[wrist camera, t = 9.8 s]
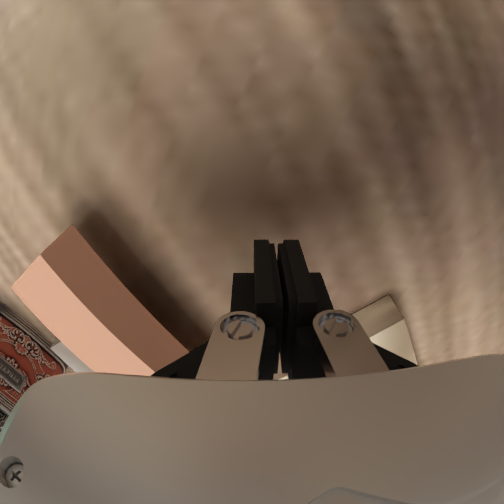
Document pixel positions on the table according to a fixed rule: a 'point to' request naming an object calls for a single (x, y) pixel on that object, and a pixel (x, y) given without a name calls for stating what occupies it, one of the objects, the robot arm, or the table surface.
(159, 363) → the stool leg
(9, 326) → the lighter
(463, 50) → the table surface
